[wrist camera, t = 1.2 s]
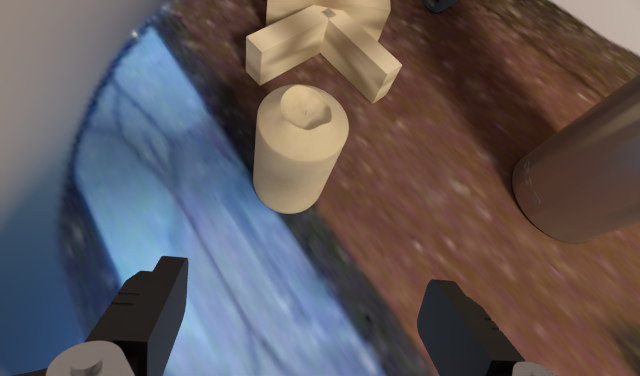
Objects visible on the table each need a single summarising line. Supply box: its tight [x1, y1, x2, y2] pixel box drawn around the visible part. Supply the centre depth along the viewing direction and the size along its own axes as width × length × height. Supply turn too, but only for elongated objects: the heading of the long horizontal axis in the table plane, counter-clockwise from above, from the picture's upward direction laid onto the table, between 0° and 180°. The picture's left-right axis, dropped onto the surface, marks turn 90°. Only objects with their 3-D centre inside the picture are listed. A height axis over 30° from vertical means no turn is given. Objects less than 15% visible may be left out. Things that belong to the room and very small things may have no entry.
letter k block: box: [246, 0, 402, 104], centre depth 33 cm, size 13×10×5 cm
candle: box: [253, 84, 349, 214], centre depth 25 cm, size 6×6×10 cm
